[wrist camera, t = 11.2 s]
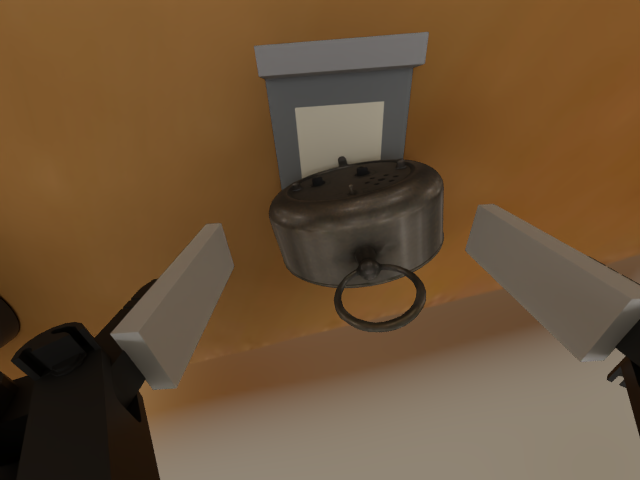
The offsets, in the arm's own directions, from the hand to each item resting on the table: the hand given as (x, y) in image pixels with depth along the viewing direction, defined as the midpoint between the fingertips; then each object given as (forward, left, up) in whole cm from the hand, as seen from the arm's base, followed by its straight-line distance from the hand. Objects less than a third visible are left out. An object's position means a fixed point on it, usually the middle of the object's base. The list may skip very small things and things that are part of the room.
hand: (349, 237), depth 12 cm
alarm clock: (+1, 0, -11) cm, 11 cm away
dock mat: (0, 0, -11) cm, 11 cm away
